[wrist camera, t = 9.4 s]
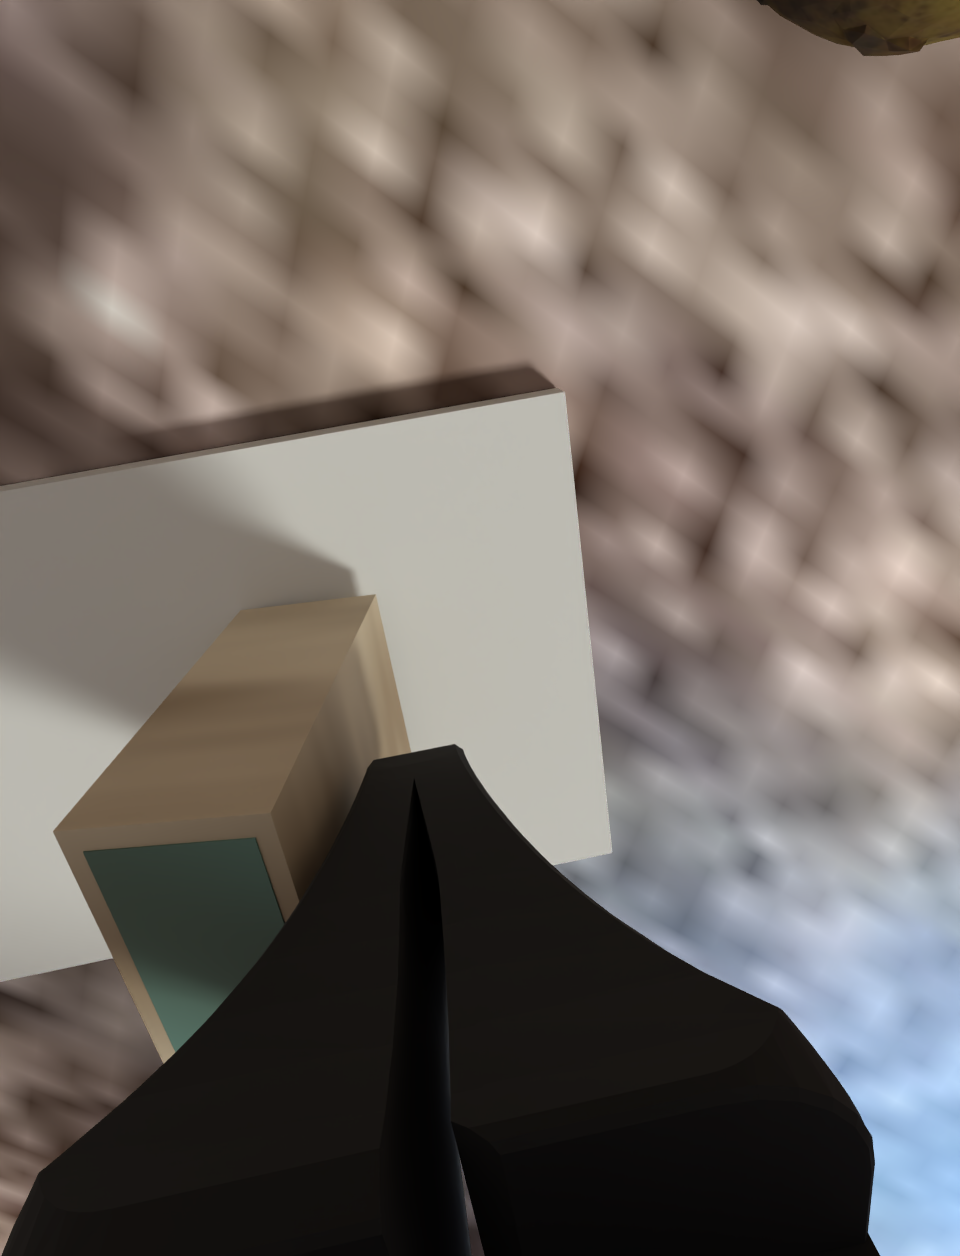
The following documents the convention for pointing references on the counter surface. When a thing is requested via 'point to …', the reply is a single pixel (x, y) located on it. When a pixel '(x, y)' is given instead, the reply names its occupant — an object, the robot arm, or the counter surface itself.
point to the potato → (875, 22)
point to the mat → (290, 574)
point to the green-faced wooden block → (232, 802)
